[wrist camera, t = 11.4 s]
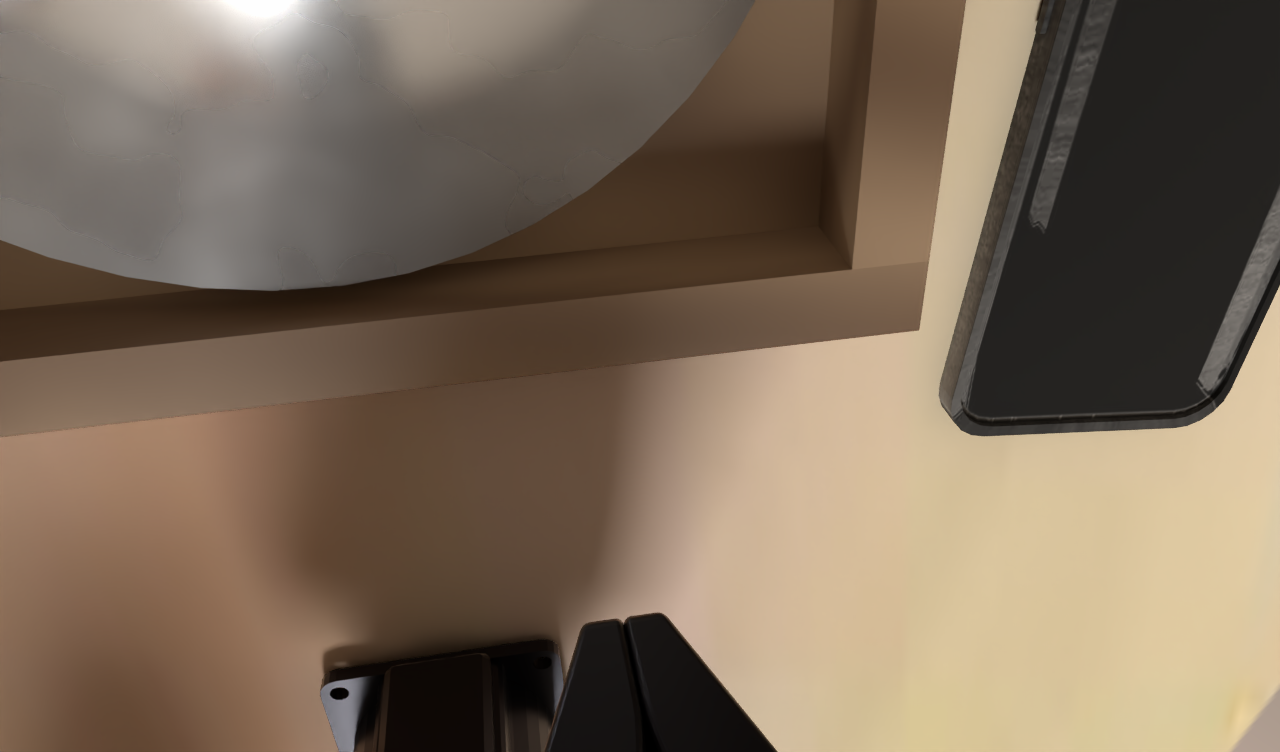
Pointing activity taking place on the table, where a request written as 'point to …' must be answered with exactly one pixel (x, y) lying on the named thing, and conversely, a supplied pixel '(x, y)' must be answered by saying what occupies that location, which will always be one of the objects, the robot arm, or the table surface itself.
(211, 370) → the square wooden tray
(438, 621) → the table surface
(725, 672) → the table surface
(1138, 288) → the phone
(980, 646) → the table surface
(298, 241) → the dial
